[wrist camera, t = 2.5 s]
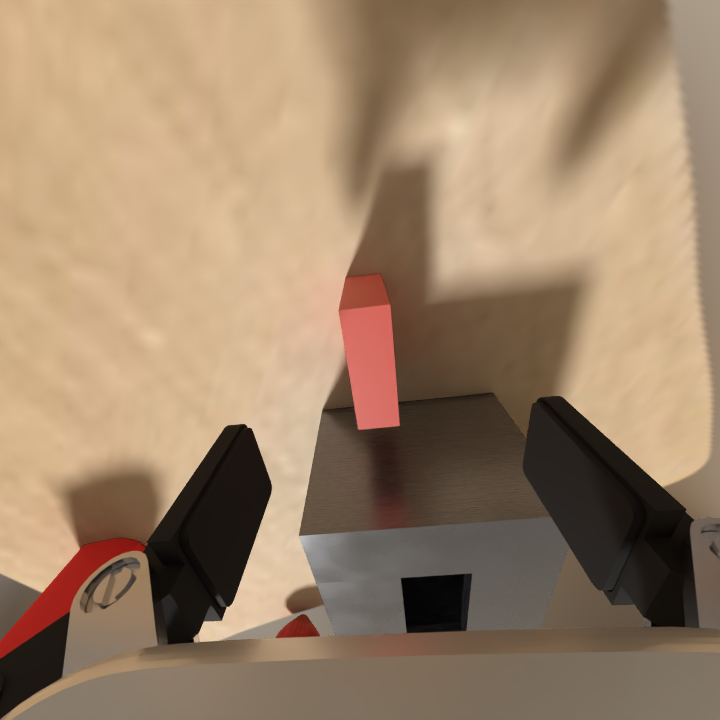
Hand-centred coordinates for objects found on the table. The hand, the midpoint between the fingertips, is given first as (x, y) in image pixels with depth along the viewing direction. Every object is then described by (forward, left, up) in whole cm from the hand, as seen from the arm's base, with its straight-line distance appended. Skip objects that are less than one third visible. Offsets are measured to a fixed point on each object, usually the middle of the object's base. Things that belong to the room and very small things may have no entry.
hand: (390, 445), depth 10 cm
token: (-1, 0, -9) cm, 9 cm away
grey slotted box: (+13, +2, -9) cm, 16 cm away
